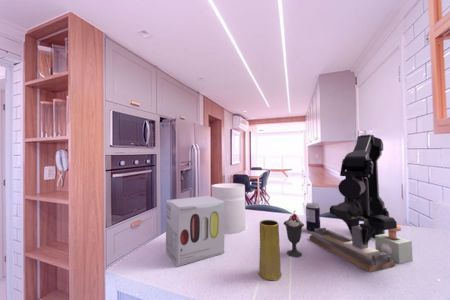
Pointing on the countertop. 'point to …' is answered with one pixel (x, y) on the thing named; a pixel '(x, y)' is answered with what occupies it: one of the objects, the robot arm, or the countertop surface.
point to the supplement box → (194, 229)
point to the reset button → (393, 232)
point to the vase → (269, 250)
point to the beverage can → (312, 216)
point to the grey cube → (394, 248)
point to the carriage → (359, 243)
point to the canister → (231, 205)
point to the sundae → (294, 234)
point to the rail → (350, 251)
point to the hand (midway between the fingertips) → (360, 242)
